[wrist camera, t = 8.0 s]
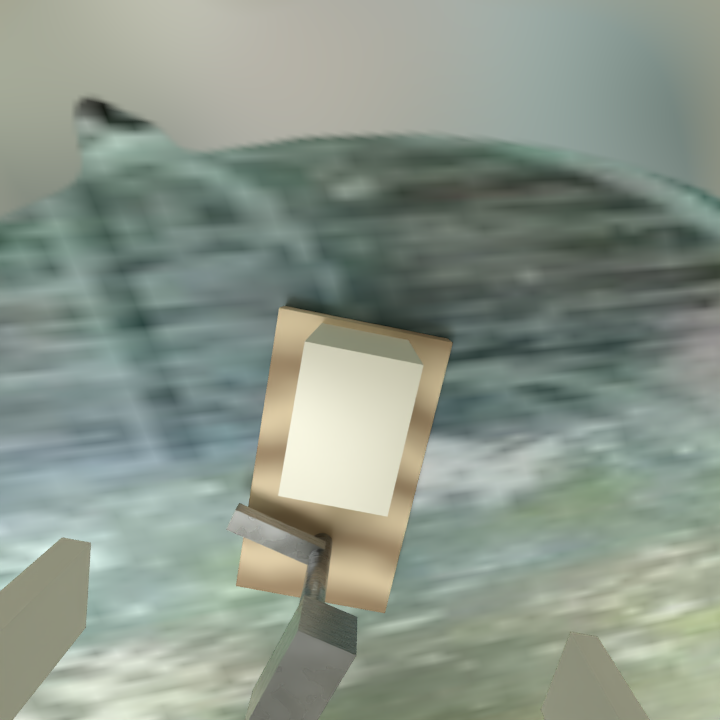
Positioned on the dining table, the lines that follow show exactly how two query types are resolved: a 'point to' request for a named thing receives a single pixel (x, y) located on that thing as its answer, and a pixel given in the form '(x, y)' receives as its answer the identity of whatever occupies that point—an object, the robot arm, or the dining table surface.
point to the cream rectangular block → (350, 419)
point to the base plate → (346, 527)
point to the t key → (300, 627)
